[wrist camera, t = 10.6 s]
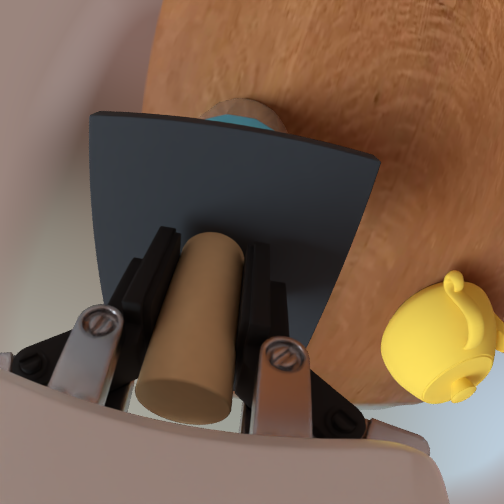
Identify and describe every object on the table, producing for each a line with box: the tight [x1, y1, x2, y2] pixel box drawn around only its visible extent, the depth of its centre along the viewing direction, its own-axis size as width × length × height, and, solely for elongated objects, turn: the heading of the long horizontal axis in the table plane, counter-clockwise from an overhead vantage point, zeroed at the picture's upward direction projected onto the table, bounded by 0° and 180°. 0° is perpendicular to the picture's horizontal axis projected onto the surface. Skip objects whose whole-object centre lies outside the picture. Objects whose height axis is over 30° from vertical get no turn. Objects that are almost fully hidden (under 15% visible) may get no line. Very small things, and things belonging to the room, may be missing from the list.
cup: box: [198, 98, 287, 133], centre depth 22 cm, size 8×8×9 cm
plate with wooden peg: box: [89, 111, 381, 425], centre depth 10 cm, size 10×10×7 cm
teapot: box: [381, 270, 504, 404], centre depth 31 cm, size 20×19×13 cm
